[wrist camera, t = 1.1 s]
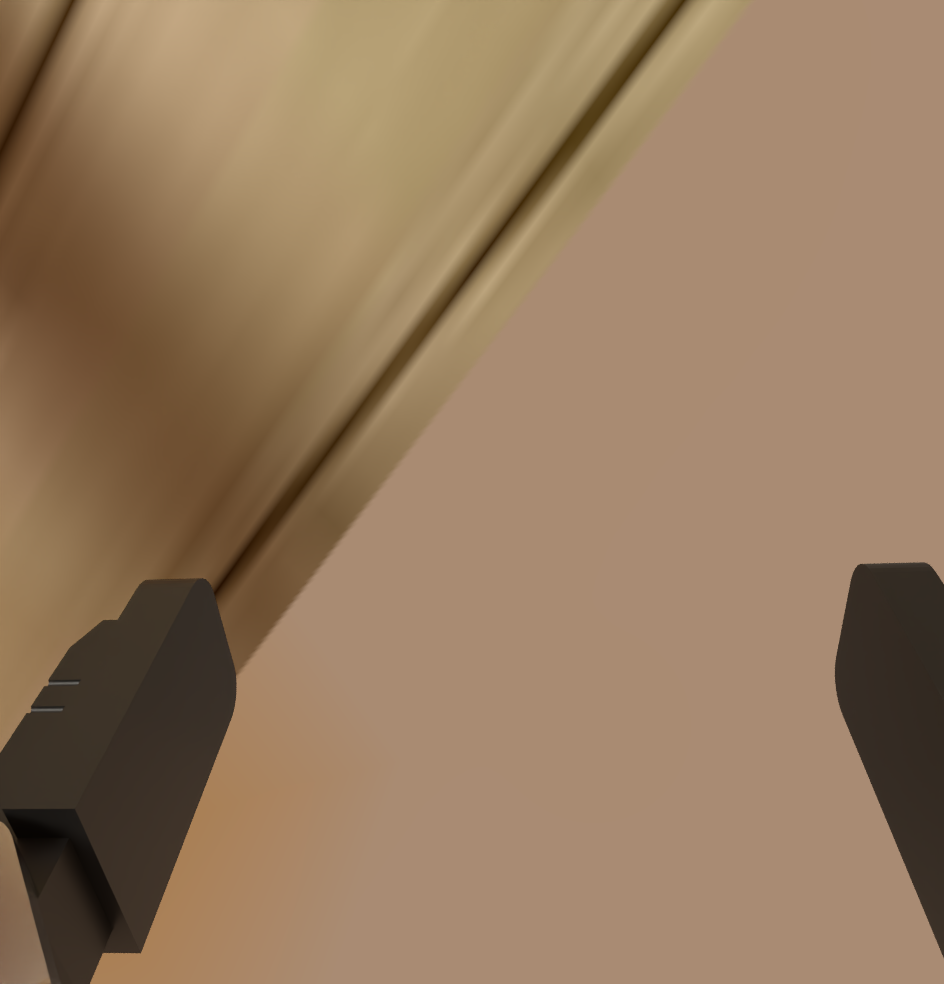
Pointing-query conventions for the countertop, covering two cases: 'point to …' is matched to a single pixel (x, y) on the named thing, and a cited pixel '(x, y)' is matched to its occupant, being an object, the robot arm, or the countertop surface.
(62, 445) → the countertop surface
